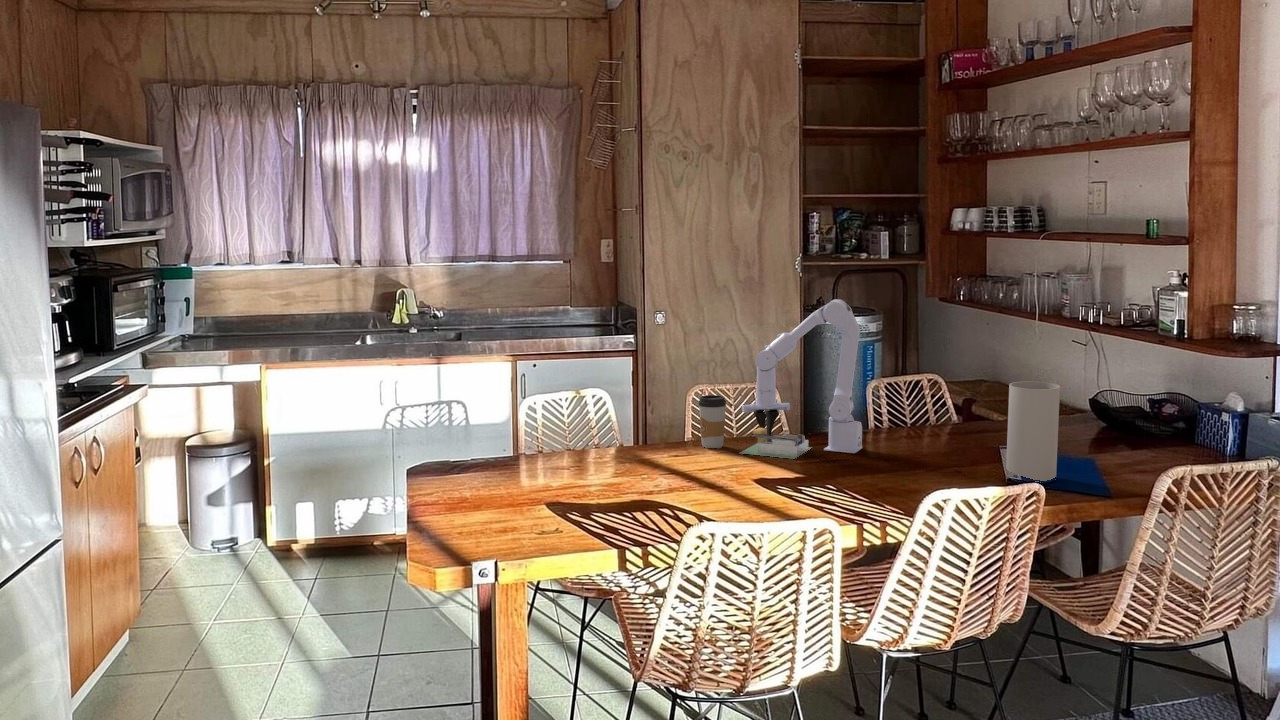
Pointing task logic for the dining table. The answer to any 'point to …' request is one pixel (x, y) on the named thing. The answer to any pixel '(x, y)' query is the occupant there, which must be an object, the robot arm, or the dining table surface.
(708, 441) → the coffee cup
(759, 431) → the latch
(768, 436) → the strap
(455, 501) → the dining table surface
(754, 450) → the pcb mat
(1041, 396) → the cylinder vase
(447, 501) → the dining table surface
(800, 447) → the heatsink block
